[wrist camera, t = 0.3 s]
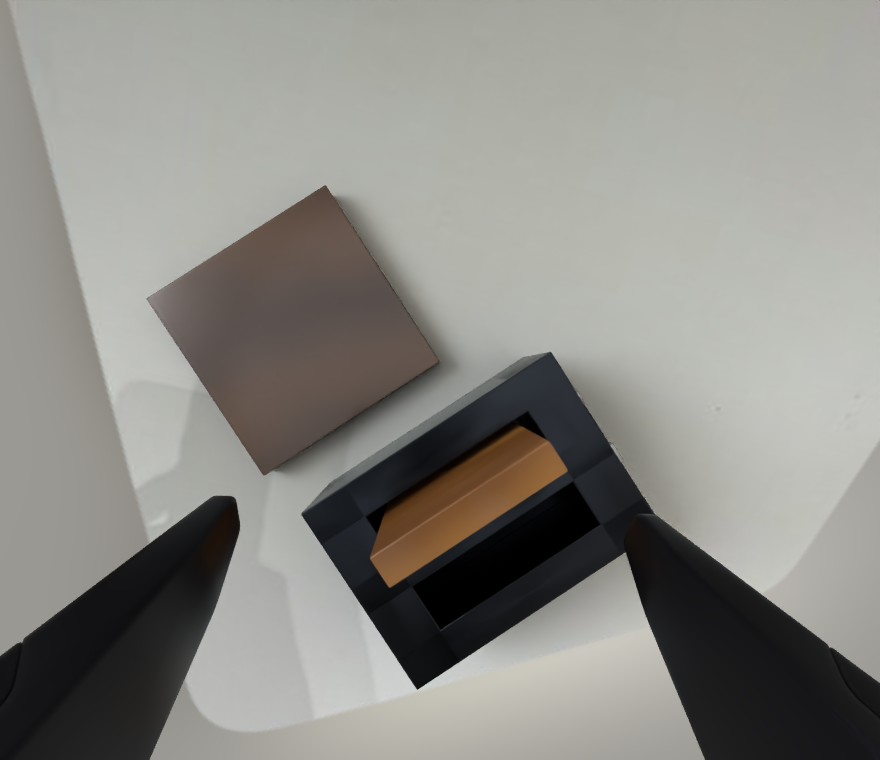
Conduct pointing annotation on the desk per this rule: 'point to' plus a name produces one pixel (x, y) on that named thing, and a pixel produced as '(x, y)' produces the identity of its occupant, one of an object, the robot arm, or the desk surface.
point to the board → (293, 330)
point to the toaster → (496, 544)
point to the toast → (462, 499)
